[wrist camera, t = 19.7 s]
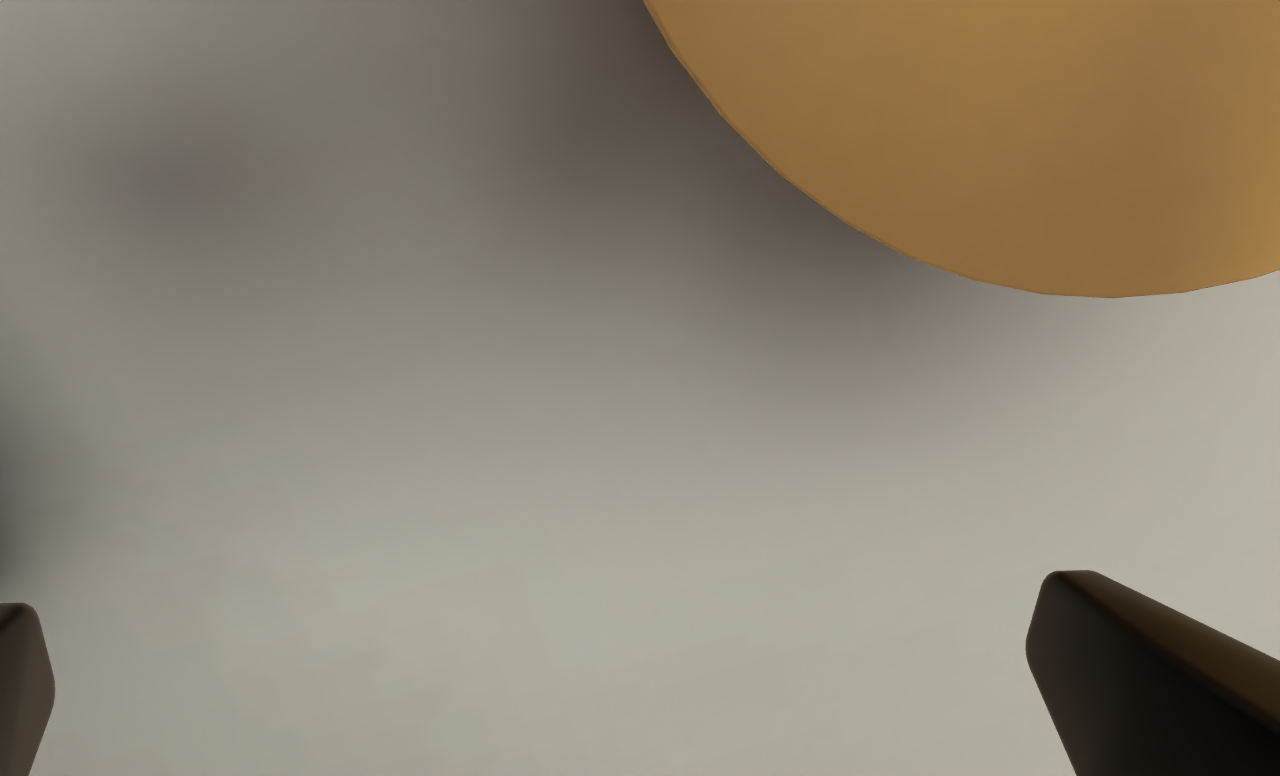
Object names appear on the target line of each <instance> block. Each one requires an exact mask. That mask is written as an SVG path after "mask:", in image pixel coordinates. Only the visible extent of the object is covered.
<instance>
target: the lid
mask: <svg viewBox="0 0 1280 776" xmlns="http://www.w3.org/2000/svg"><path fill="white" fill-rule="evenodd" d="M643 2H644V4H645V6H646V7H647V9H648V11H649V13H650V14H651V16H652V18H653V20H654V21H655V23H656V25H657V27H658V28H659V30H660V32H661V33H662V35H663V37H664V39H665V40H666V42H667V44H668V46H669V47H670V49H671V51H672V52H673V53H674V55H675V56H676V57H677V59H678V60H679V61H680V63H681V64H682V65H683V66H684V68H685V69H686V70H687V72H688V73H689V74H690V76H691V77H692V78H693V80H694V81H695V82H696V84H697V85H698V86H699V87H700V89H701V90H702V91H703V93H704V94H705V95H706V97H707V98H708V99H709V101H710V102H711V103H712V105H713V106H714V107H715V108H716V110H717V111H718V112H719V114H720V115H721V116H722V117H723V118H724V119H725V120H726V121H727V122H728V123H729V124H730V125H731V126H732V127H733V128H734V129H735V130H736V131H737V132H738V133H739V134H740V135H741V136H742V137H743V138H744V139H745V140H746V141H747V142H748V143H749V144H750V145H751V146H752V147H753V148H754V149H755V150H756V151H757V152H758V153H759V154H760V155H761V156H762V157H763V158H764V159H765V160H766V161H767V162H768V163H769V164H770V165H771V166H772V167H773V168H774V169H775V170H776V171H777V172H778V173H779V174H780V175H782V176H783V177H784V178H785V179H786V180H788V181H789V182H790V183H792V184H793V185H794V186H796V187H797V188H799V189H800V190H801V191H803V192H804V193H805V194H807V195H808V196H809V197H811V198H812V199H813V200H815V201H816V202H817V203H819V204H820V205H821V206H823V207H824V208H825V209H827V210H828V211H830V212H831V213H832V214H834V215H835V216H836V217H838V218H839V219H840V220H842V221H843V222H844V223H846V224H848V225H849V226H851V227H853V228H855V229H857V230H859V231H861V232H863V233H864V234H866V235H868V236H870V237H872V238H874V239H876V240H878V241H879V242H881V243H883V244H885V245H887V246H889V247H891V248H893V249H894V250H896V251H898V252H900V253H902V254H904V255H906V256H908V257H910V258H912V259H915V260H918V261H921V262H924V263H926V264H929V265H932V266H935V267H938V268H940V269H943V270H946V271H949V272H952V273H954V274H957V275H960V276H963V277H966V278H968V279H971V280H974V281H979V282H984V283H989V284H994V285H999V286H1004V287H1009V288H1014V289H1019V290H1024V291H1029V292H1034V293H1039V294H1048V295H1065V296H1083V297H1100V298H1119V297H1132V296H1145V295H1159V294H1172V293H1183V292H1188V291H1193V290H1198V289H1203V288H1208V287H1213V286H1218V285H1223V284H1228V283H1233V282H1238V281H1243V280H1248V279H1253V278H1256V277H1259V276H1262V275H1265V274H1268V273H1271V272H1274V271H1277V270H1280V0H643Z"/></svg>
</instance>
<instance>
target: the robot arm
mask: <svg viewBox="0 0 1280 776" xmlns="http://www.w3.org/2000/svg"><path fill="white" fill-rule="evenodd" d="M1026 656H1027V661H1028V664H1029V667H1030V670H1031V672H1032V674H1033V676H1034V679H1035V681H1036V683H1037V686H1038V688H1039V690H1040V693H1041V695H1042V697H1043V699H1044V702H1045V704H1046V706H1047V709H1048V711H1049V713H1050V716H1051V718H1052V720H1053V722H1054V725H1055V727H1056V729H1057V732H1058V734H1059V736H1060V739H1061V741H1062V743H1063V745H1064V748H1065V750H1066V752H1067V755H1068V757H1069V759H1070V762H1071V764H1072V766H1073V768H1074V771H1075V773H1076V775H1077V776H1280V661H1279V660H1277V659H1275V658H1273V657H1271V656H1269V655H1267V654H1265V653H1262V652H1260V651H1258V650H1256V649H1254V648H1252V647H1250V646H1248V645H1246V644H1244V643H1242V642H1240V641H1238V640H1236V639H1234V638H1232V637H1229V636H1227V635H1225V634H1223V633H1221V632H1219V631H1217V630H1215V629H1213V628H1211V627H1209V626H1207V625H1205V624H1203V623H1201V622H1198V621H1196V620H1194V619H1192V618H1190V617H1188V616H1186V615H1184V614H1182V613H1180V612H1178V611H1176V610H1174V609H1172V608H1170V607H1168V606H1165V605H1163V604H1161V603H1159V602H1157V601H1155V600H1153V599H1151V598H1149V597H1147V596H1145V595H1143V594H1141V593H1139V592H1137V591H1134V590H1132V589H1130V588H1128V587H1126V586H1124V585H1122V584H1120V583H1118V582H1116V581H1114V580H1112V579H1110V578H1108V577H1106V576H1103V575H1101V574H1099V573H1097V572H1094V571H1090V570H1072V571H1055V572H1052V573H1050V574H1049V575H1048V576H1047V577H1046V578H1045V579H1044V580H1043V583H1042V585H1041V589H1040V592H1039V596H1038V599H1037V603H1036V606H1035V610H1034V613H1033V616H1032V620H1031V623H1030V627H1029V630H1028V634H1027V638H1026ZM54 698H55V681H54V676H53V672H52V668H51V664H50V660H49V656H48V652H47V648H46V644H45V640H44V636H43V632H42V628H41V624H40V620H39V618H38V615H37V613H36V611H35V610H34V608H33V607H31V606H30V605H28V604H26V603H0V776H28V775H29V772H30V770H31V767H32V764H33V761H34V759H35V756H36V753H37V750H38V747H39V745H40V742H41V739H42V736H43V734H44V731H45V728H46V725H47V723H48V720H49V717H50V714H51V711H52V708H53V703H54Z"/></svg>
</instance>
